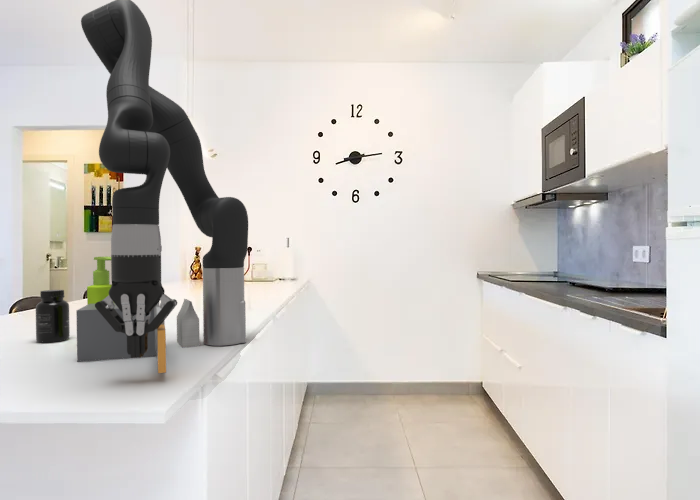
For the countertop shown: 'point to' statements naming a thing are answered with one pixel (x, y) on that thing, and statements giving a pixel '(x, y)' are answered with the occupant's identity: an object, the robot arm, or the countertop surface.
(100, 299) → the soap dispenser
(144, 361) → the countertop surface
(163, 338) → the side door
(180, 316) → the grey gable top carton
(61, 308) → the supplement bottle
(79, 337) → the camera housing
